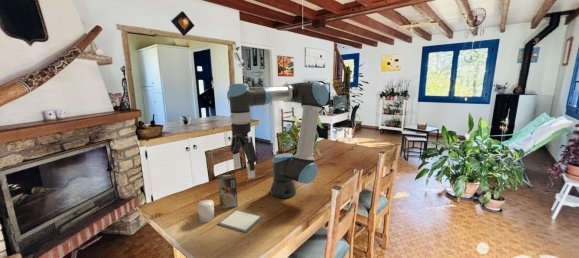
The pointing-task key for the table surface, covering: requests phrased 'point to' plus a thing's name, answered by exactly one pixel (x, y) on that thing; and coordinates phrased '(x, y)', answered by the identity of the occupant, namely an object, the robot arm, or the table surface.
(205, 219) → the cream capsule pill
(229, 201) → the coffee box
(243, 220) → the mat
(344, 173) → the table surface
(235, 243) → the table surface
